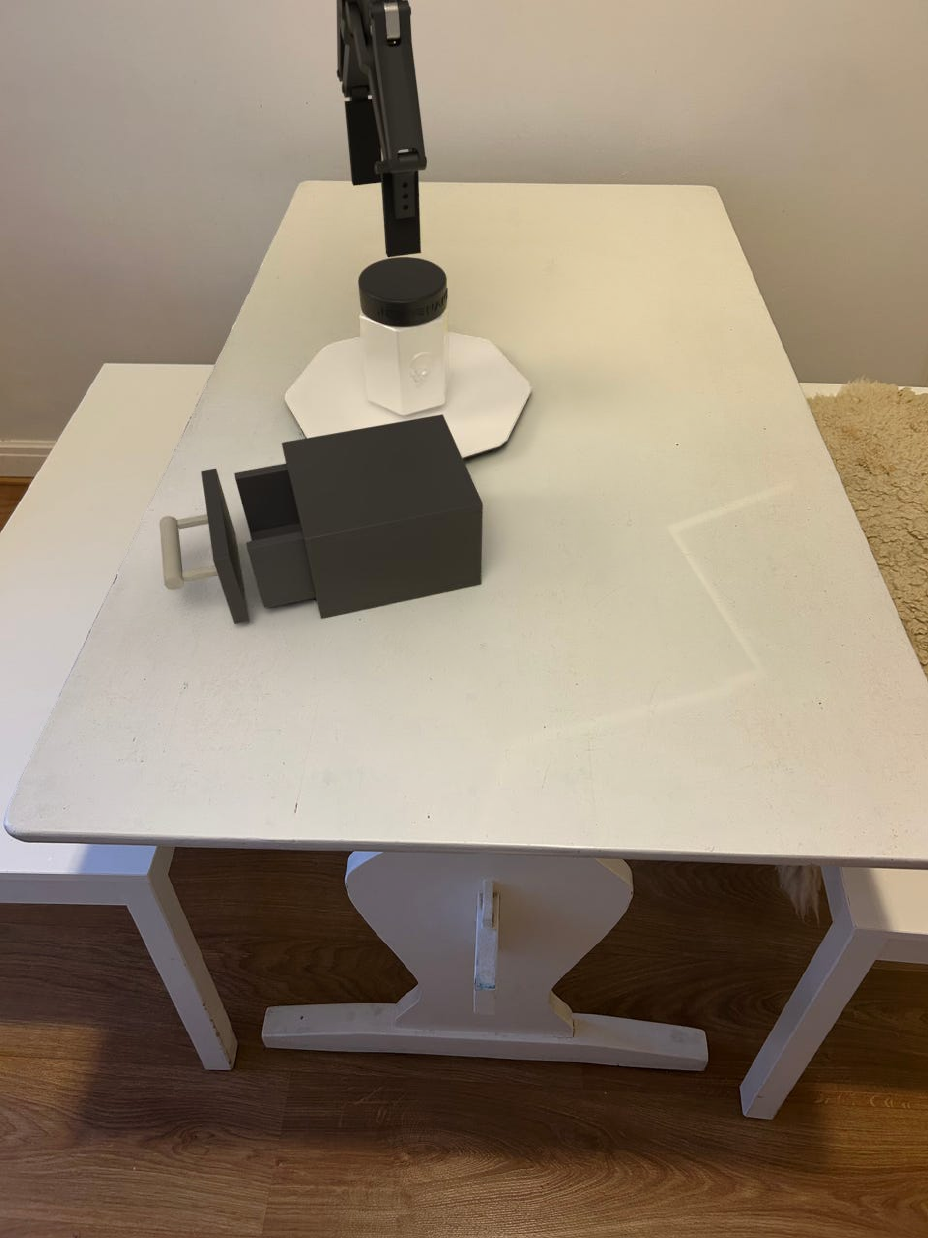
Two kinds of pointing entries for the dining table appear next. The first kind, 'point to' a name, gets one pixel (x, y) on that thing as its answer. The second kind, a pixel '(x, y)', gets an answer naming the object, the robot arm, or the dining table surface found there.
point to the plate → (473, 410)
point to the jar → (405, 333)
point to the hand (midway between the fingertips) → (384, 216)
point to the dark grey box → (386, 514)
